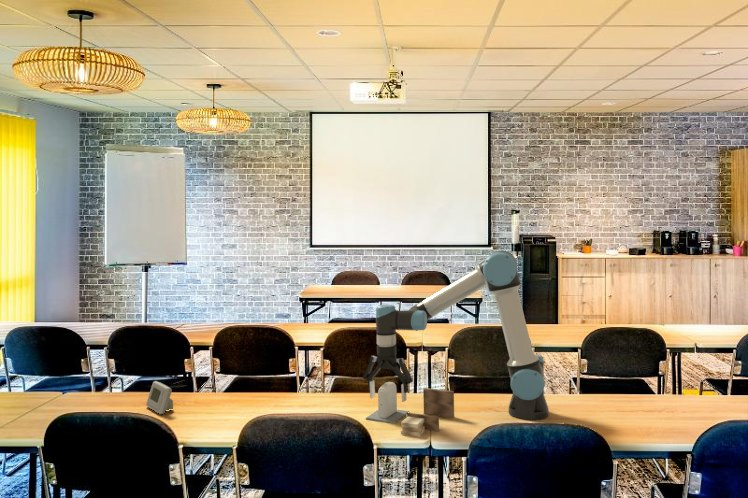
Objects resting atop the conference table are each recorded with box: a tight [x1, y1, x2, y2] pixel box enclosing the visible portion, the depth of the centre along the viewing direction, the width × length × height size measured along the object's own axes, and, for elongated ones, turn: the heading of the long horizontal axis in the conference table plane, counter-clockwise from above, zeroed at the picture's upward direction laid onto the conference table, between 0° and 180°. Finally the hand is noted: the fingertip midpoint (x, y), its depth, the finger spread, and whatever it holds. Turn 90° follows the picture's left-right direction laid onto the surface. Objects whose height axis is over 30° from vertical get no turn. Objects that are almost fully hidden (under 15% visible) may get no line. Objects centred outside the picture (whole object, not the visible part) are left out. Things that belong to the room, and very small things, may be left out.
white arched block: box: [377, 381, 398, 418], centre depth 238 cm, size 10×4×12 cm, turn 153°
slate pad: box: [365, 409, 410, 424], centre depth 238 cm, size 12×14×1 cm
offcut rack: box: [406, 387, 455, 432], centre depth 230 cm, size 12×17×10 cm
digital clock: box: [145, 380, 174, 415], centre depth 251 cm, size 16×9×11 cm, turn 29°
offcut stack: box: [400, 416, 426, 437], centre depth 219 cm, size 7×7×4 cm
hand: (388, 399), depth 238 cm, fingers open, 13 cm apart
